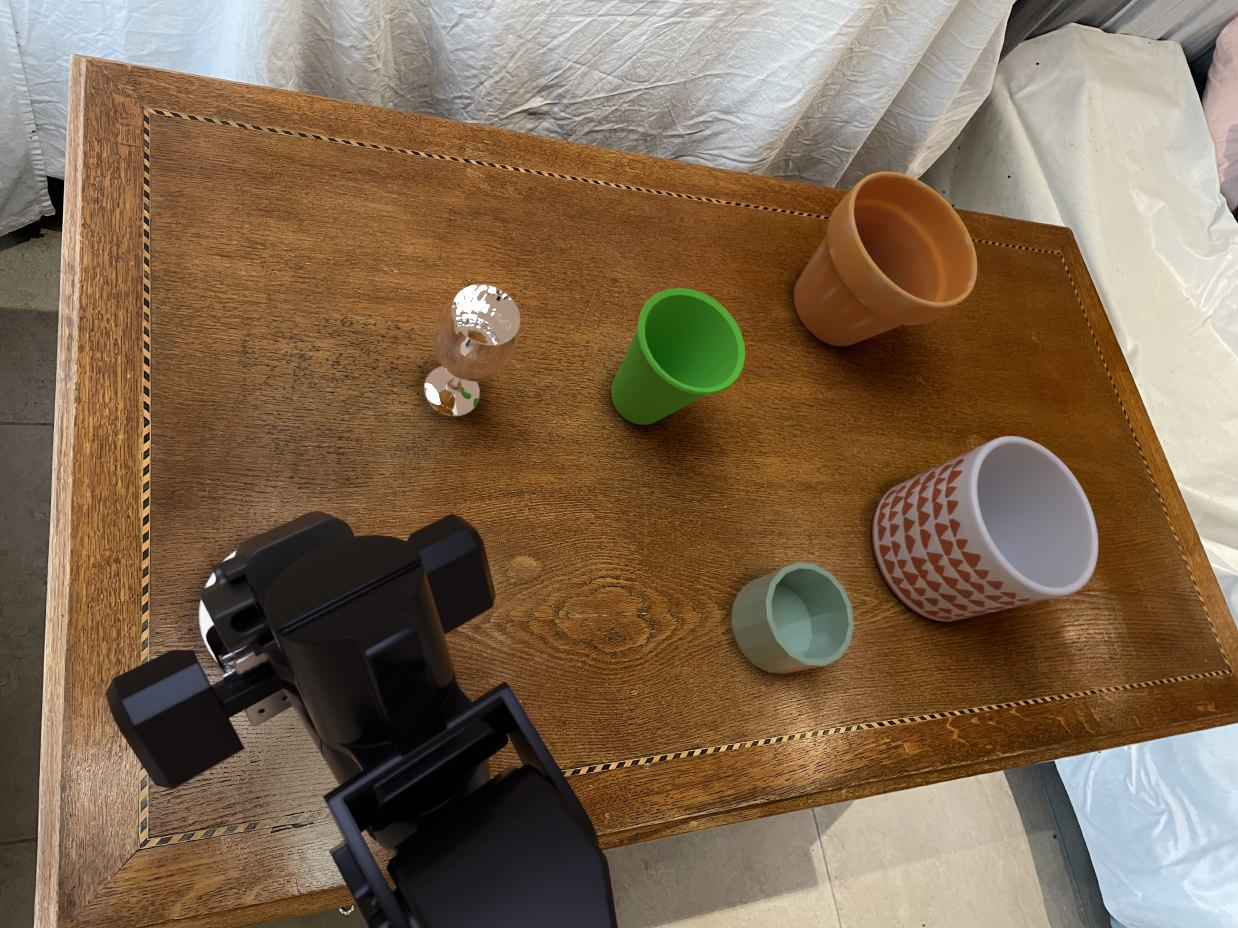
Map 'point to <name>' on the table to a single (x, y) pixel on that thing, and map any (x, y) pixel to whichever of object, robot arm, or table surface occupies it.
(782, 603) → the tumbler
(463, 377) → the wineglass
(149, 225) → the table surface
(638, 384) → the cup
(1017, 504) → the planter
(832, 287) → the flower pot
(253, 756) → the table surface
